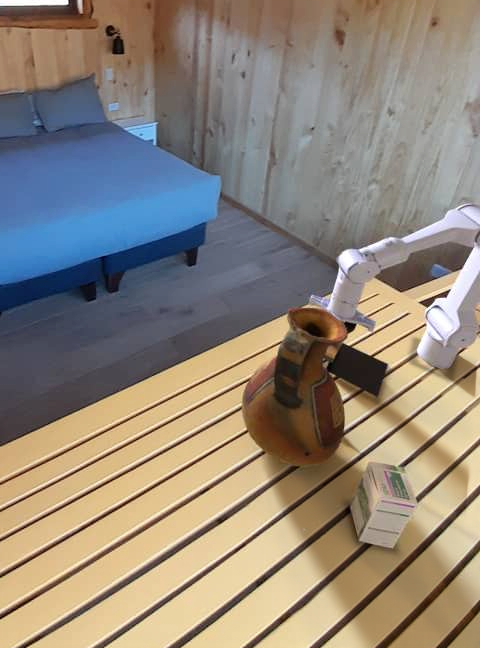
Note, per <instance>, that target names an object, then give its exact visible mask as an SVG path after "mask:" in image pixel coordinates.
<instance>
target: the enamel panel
mask: <svg viewBox="0 0 480 648" xmlns="http://www.w3.org/2000/svg"><path fill="white" fill-rule="evenodd" d="M388 365H389V363H387V362H385V361H383V360H381V359H379V358H376V357H374V356H372V355H370V354H367V353H365V352H364V351H362V350H359V349H358V348H356V347H352V346H351V345H348V344H346V343H344V342H343V344H342V346H341V348H340V350H339V352H338V354H337V356H336V358H335V360H334V362H333V363H331V362H329V361H328V363H327V365H326V367H325V368H326V369H327V370H328V372H329V373H330V375H333V376H336V377H337V378H339V379H341V380H343V381H345V382H347V383H349V384H351V385H353V386H355V387H357V388H358V389H360V390H363V391H364V392H367V393H368V394H370V395H372V396H374V397H376V398H378V397H379V394H380V391H381V387H382V384H383V381H384V379H385V375H386V371H387V368H388Z"/></svg>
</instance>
